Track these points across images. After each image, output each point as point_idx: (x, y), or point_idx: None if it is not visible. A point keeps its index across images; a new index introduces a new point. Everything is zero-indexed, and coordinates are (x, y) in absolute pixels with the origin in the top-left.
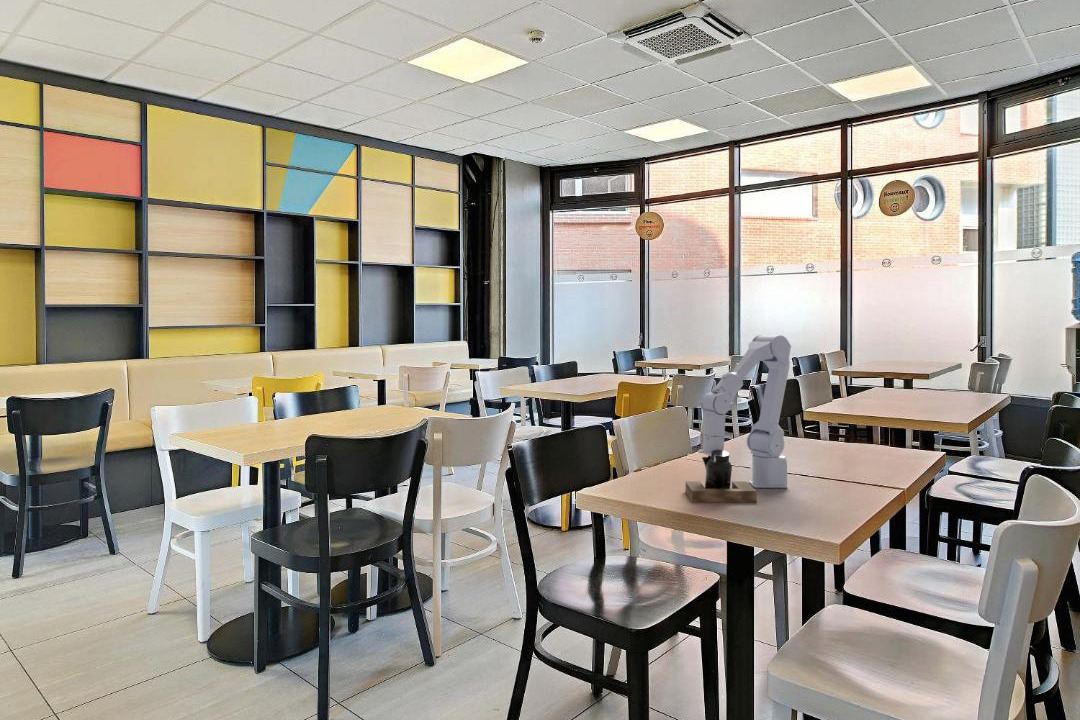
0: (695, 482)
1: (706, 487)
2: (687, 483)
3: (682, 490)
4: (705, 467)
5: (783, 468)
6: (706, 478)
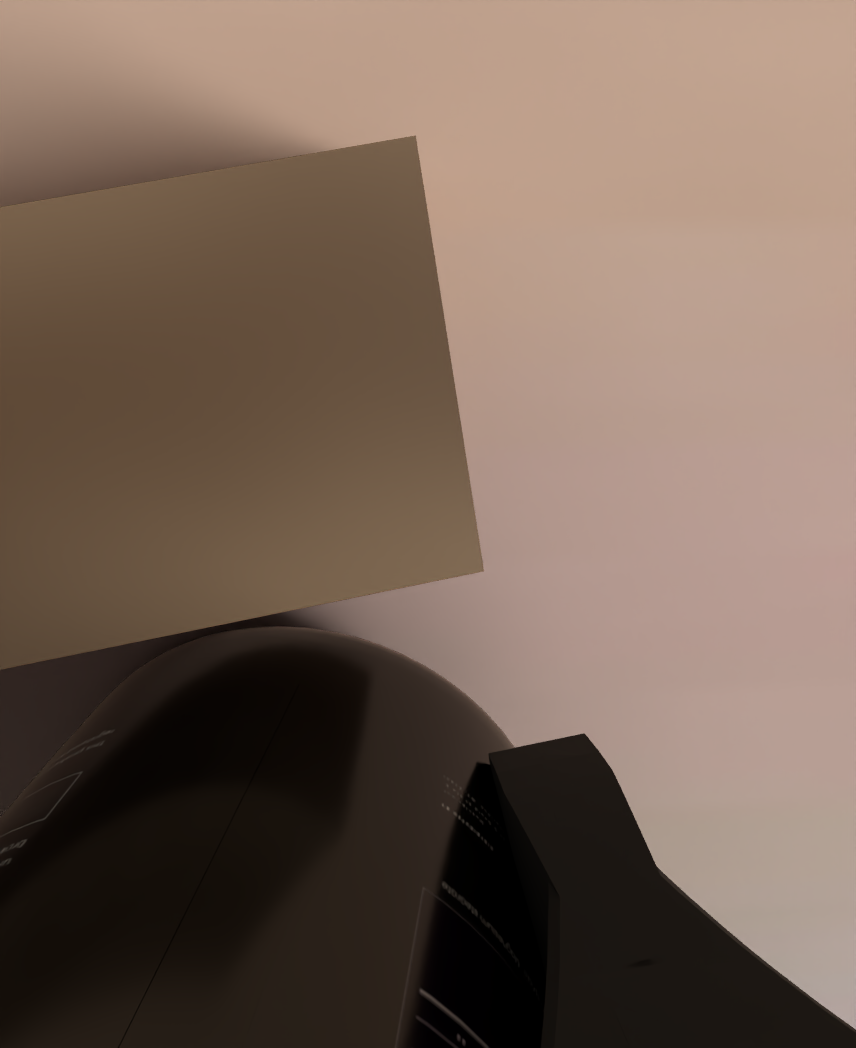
0: (314, 461)
1: (126, 709)
2: (90, 209)
3: (529, 92)
4: (816, 1004)
5: None
6: (11, 884)
